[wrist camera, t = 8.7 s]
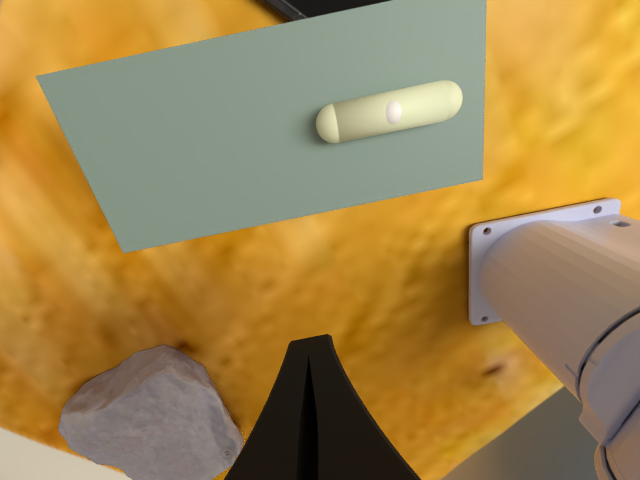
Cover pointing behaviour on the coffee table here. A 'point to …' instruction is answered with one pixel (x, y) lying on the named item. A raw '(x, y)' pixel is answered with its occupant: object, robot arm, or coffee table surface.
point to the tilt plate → (279, 120)
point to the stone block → (153, 419)
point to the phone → (314, 7)
